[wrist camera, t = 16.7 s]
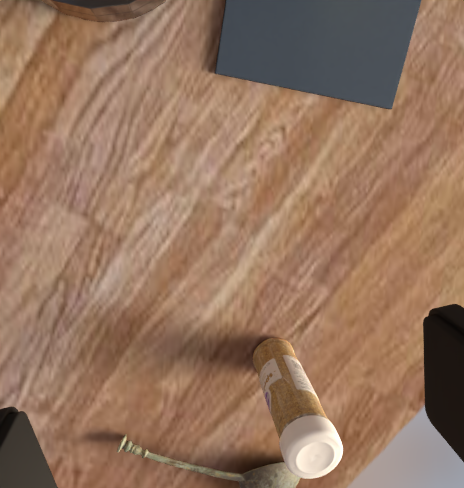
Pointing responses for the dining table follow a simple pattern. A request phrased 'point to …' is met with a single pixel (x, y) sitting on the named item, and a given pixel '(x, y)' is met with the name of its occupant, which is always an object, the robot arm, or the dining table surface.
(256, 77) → the napkin
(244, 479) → the soupspoon
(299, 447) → the sprinkles bottle
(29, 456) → the robot arm
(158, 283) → the dining table surface
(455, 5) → the dining table surface
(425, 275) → the dining table surface
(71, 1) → the pan
